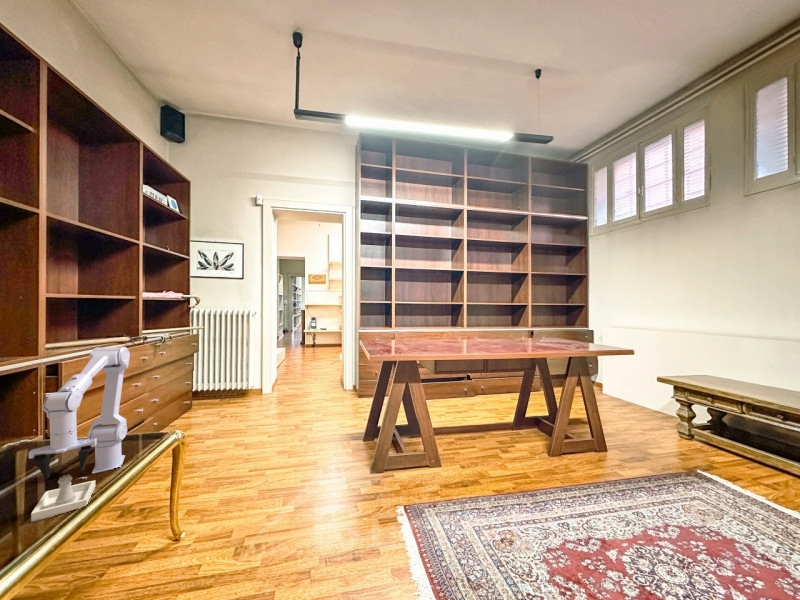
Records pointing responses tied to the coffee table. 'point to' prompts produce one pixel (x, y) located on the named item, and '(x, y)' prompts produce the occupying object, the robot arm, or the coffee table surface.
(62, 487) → the rook chess piece
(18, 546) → the coffee table surface
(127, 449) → the coffee table surface
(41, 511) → the tray
